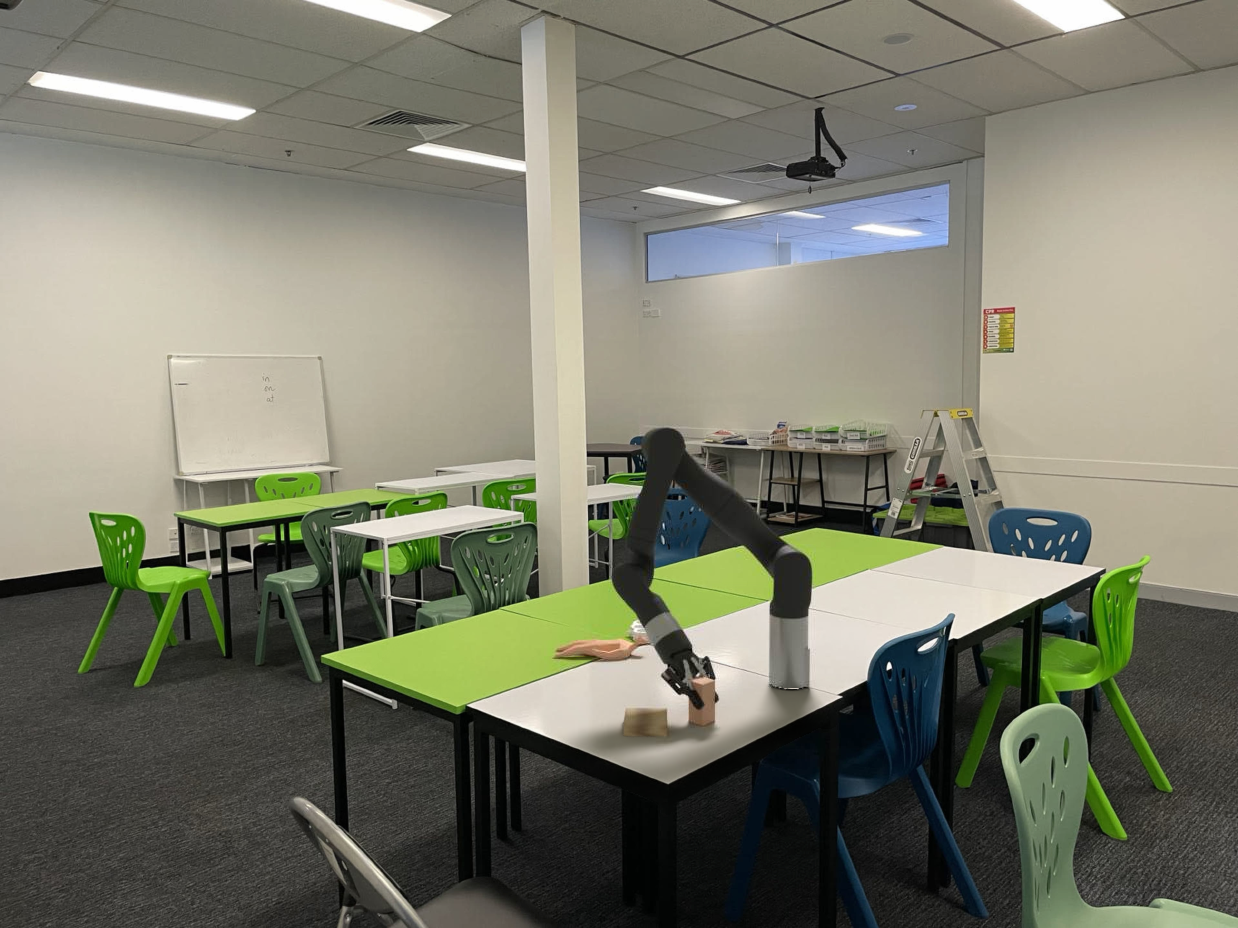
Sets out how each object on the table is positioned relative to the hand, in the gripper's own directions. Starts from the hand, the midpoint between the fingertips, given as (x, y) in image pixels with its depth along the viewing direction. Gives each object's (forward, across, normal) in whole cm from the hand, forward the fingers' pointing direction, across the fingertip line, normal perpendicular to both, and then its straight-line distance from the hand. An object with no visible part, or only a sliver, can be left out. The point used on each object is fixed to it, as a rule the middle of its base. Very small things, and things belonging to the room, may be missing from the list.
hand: (708, 704), depth 185 cm
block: (+2, 0, +4) cm, 5 cm away
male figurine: (-34, +16, +41) cm, 55 cm away
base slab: (-2, -11, +9) cm, 14 cm away
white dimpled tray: (-37, +39, +43) cm, 69 cm away
